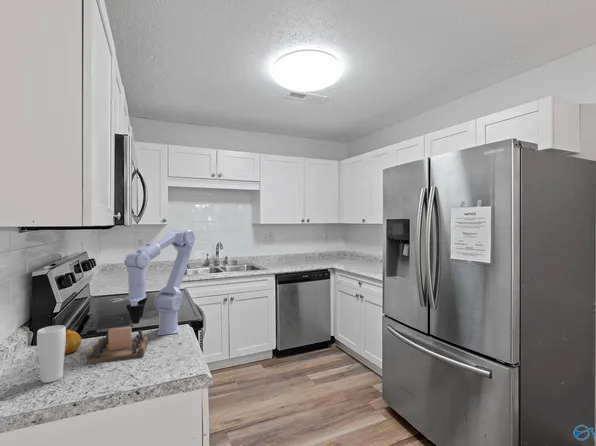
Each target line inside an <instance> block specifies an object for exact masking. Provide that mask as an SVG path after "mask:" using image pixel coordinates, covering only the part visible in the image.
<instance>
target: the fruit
mask: <svg viewBox="0 0 596 446" xmlns="http://www.w3.org/2000/svg"><path fill="white" fill-rule="evenodd" d="M81 344H82V337H81V335H80V334H79V333H78V332H76V331H74V330H71V329H66V344H65V354H67V355H68V354H71V353H74V352H76V351H77V350H79V347H80V346H81Z"/></svg>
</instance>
